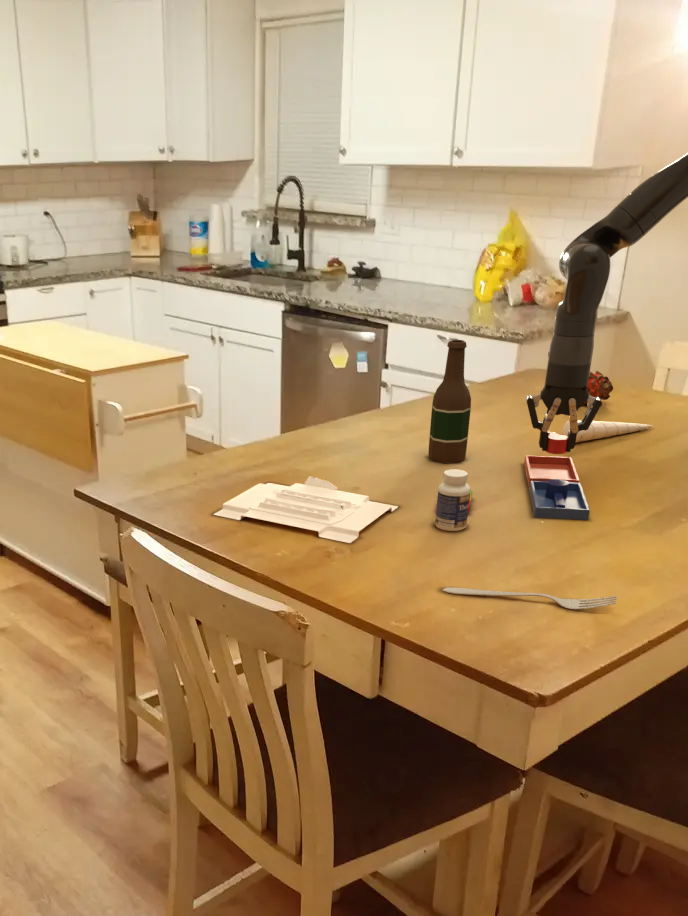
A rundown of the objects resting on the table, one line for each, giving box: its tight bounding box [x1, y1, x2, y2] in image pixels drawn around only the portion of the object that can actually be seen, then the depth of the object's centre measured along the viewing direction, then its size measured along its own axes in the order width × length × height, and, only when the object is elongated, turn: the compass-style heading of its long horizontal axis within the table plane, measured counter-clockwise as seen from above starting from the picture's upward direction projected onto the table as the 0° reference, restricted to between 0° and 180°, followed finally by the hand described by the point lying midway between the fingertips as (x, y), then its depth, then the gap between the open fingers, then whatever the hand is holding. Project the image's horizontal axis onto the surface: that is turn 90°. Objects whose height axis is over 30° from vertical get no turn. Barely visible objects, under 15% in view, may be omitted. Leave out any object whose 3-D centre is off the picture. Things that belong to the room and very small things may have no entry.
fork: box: [442, 586, 618, 610], centre depth 139 cm, size 3×24×2 cm, turn 70°
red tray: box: [523, 454, 580, 489], centre depth 187 cm, size 9×14×2 cm, turn 167°
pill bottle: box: [434, 468, 471, 532], centre depth 164 cm, size 5×5×10 cm
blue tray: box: [528, 481, 591, 521], centre depth 173 cm, size 9×14×2 cm, turn 167°
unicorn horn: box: [561, 419, 653, 443], centre depth 208 cm, size 5×24×5 cm, turn 108°
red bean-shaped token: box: [545, 431, 568, 455], centre depth 184 cm, size 10×4×3 cm, turn 167°
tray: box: [212, 475, 399, 544], centre depth 174 cm, size 20×28×4 cm
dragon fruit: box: [582, 370, 614, 406], centre depth 233 cm, size 8×8×12 cm
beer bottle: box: [428, 339, 472, 464], centre depth 194 cm, size 8×8×24 cm
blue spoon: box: [545, 479, 569, 508], centre depth 173 cm, size 10×4×3 cm, turn 167°
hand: (556, 450), depth 182 cm, fingers closed on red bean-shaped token, 3 cm apart
